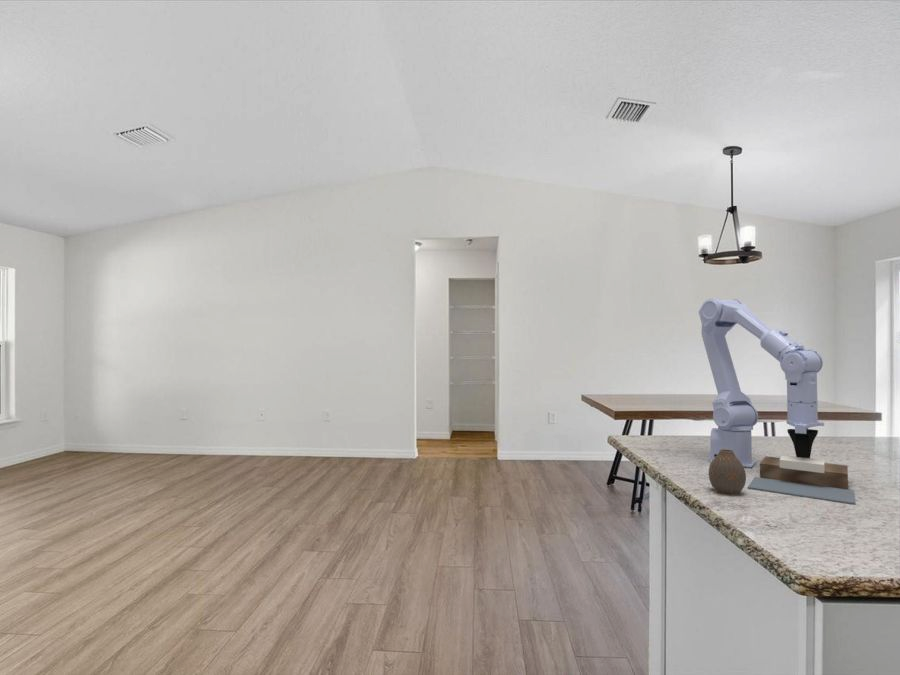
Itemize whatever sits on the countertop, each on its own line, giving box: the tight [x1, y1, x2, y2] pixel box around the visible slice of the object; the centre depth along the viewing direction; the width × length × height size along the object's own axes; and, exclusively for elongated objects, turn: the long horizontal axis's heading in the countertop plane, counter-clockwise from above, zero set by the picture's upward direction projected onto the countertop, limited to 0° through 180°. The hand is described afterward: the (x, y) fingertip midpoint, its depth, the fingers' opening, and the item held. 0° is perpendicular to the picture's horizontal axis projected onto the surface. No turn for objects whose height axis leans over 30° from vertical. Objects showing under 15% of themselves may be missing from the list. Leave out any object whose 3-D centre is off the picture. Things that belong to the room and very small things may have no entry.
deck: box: [759, 455, 849, 490], centre depth 114 cm, size 16×10×4 cm, turn 51°
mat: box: [747, 476, 856, 506], centre depth 105 cm, size 18×11×1 cm, turn 51°
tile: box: [779, 454, 826, 473], centre depth 111 cm, size 8×6×2 cm
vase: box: [708, 449, 747, 495], centre depth 104 cm, size 7×7×9 cm
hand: (803, 461), depth 114 cm, fingers closed
